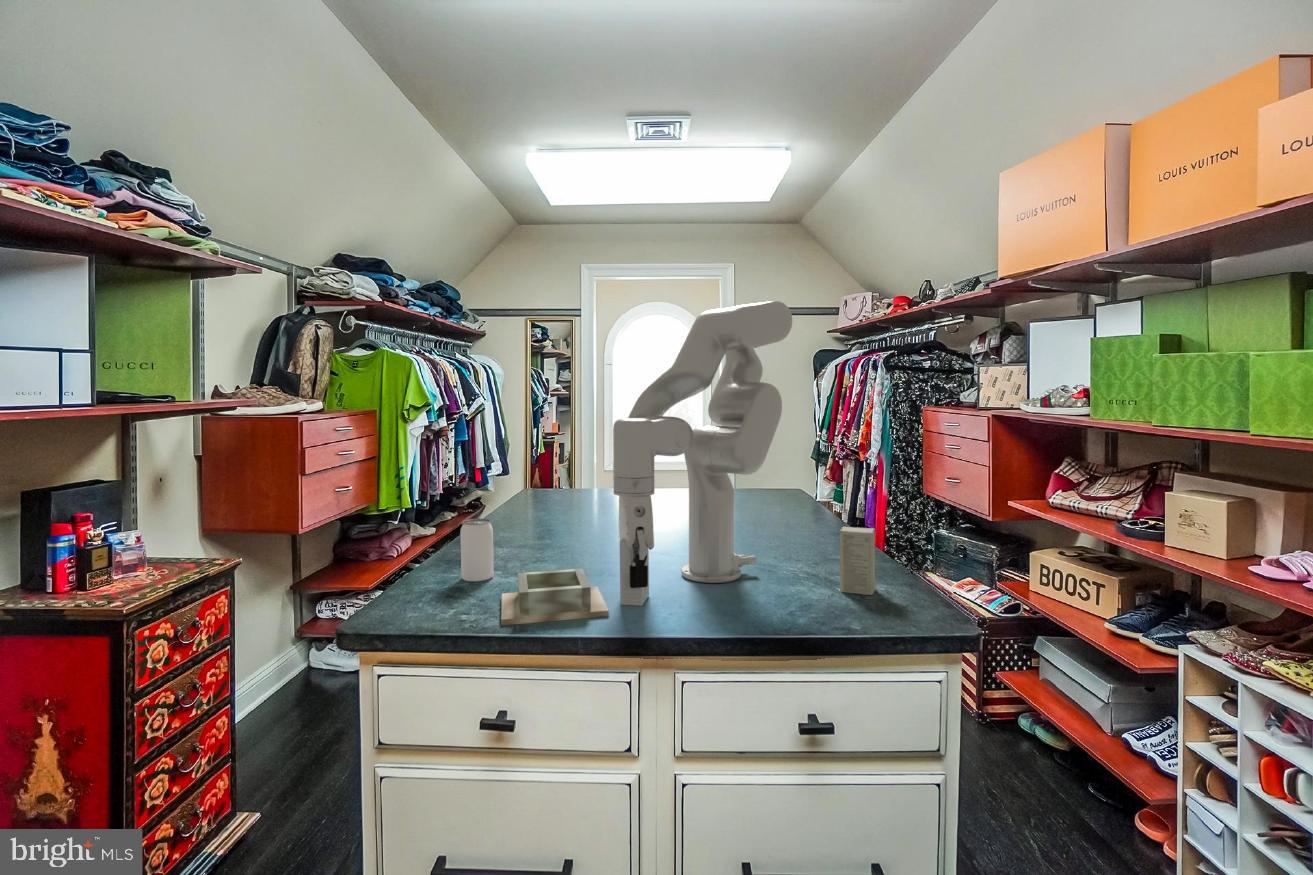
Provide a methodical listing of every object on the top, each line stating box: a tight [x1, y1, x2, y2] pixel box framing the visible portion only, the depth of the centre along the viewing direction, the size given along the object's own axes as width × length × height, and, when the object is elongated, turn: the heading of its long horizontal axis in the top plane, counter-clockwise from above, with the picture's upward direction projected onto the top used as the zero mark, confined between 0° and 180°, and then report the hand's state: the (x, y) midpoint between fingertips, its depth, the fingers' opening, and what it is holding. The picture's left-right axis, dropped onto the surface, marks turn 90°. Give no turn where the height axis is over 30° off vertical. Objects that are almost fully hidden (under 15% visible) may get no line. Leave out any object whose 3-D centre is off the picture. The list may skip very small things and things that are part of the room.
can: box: [459, 518, 495, 583], centre depth 129 cm, size 6×6×12 cm
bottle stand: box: [500, 568, 610, 626], centre depth 111 cm, size 18×14×5 cm
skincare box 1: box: [619, 538, 650, 607], centre depth 114 cm, size 6×4×12 cm
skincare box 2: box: [839, 526, 876, 596], centre depth 120 cm, size 6×4×12 cm
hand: (634, 580), depth 115 cm, fingers closed on skincare box 1, 7 cm apart
